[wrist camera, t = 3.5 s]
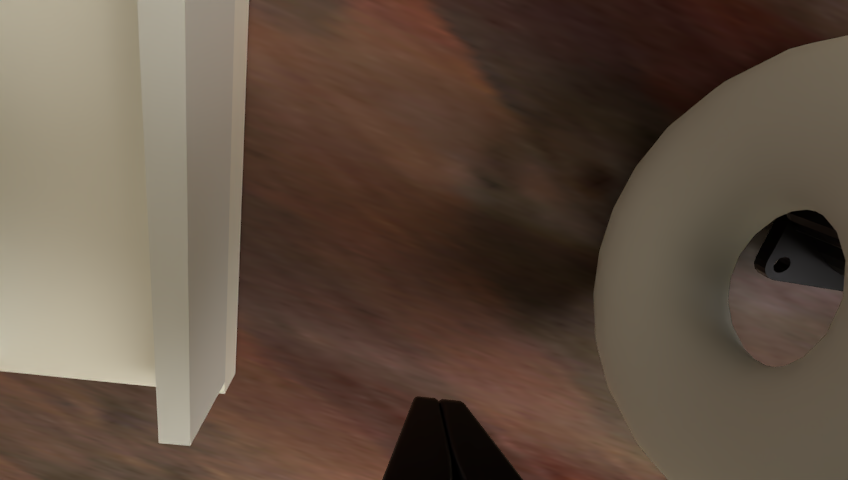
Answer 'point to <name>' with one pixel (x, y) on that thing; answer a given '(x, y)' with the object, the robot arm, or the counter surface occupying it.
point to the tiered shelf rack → (123, 195)
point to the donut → (728, 278)
